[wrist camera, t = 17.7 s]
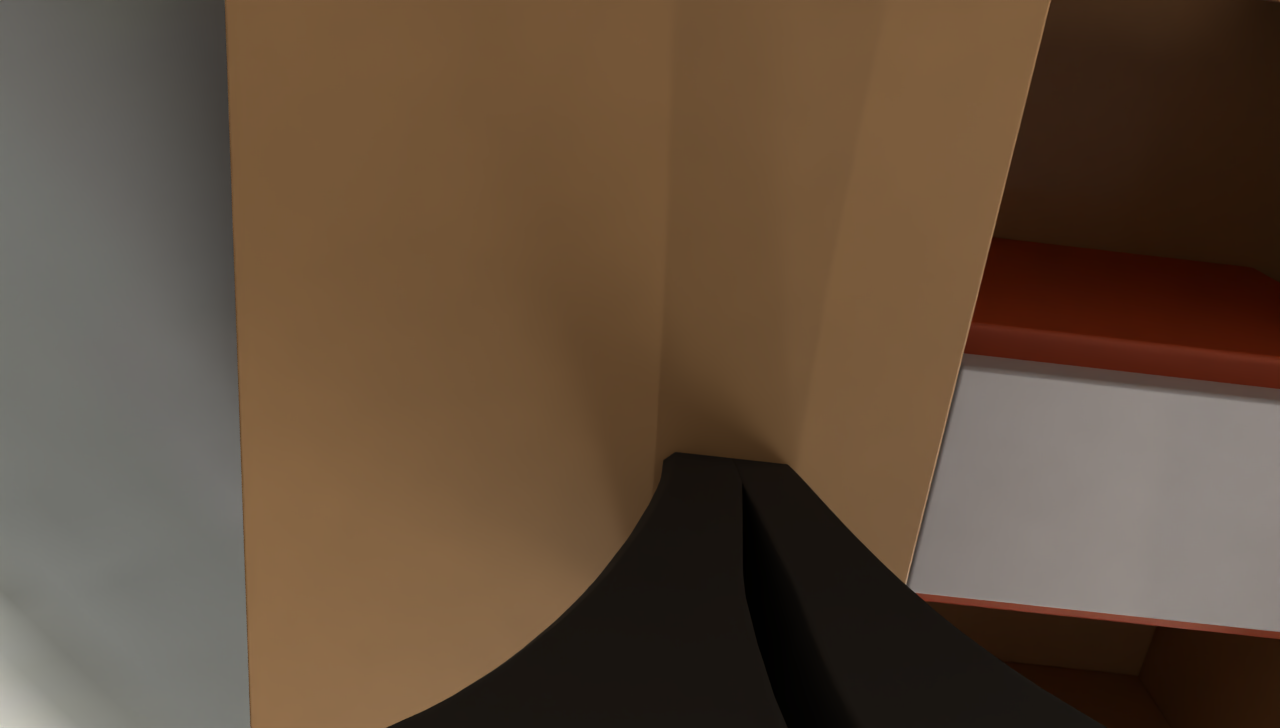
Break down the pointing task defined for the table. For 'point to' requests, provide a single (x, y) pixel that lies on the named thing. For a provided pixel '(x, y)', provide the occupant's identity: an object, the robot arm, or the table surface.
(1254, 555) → the block
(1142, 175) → the box
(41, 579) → the table surface
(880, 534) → the box flap
